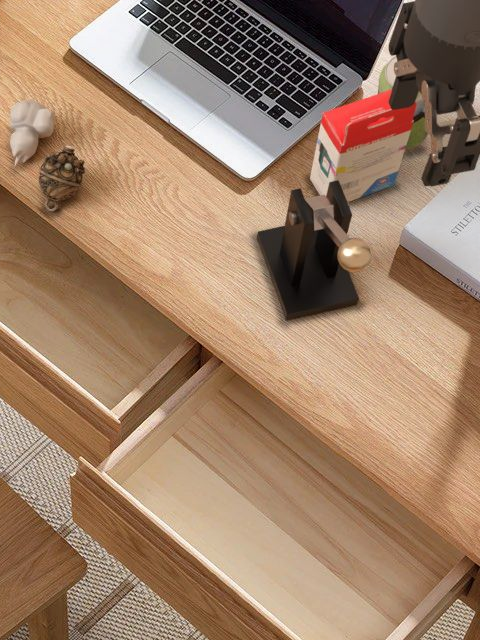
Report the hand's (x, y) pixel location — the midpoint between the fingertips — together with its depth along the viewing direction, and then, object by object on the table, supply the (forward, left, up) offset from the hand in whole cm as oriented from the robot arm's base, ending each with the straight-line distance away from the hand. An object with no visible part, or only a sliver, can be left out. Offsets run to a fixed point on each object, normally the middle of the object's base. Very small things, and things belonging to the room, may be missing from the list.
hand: (416, 142), depth 108 cm
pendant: (+30, -25, -26) cm, 47 cm away
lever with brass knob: (+4, -1, -16) cm, 17 cm away
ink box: (-4, -16, -29) cm, 33 cm away
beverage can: (-11, -21, -29) cm, 37 cm away
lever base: (+4, -6, -28) cm, 29 cm away
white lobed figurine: (+28, -34, -25) cm, 51 cm away
